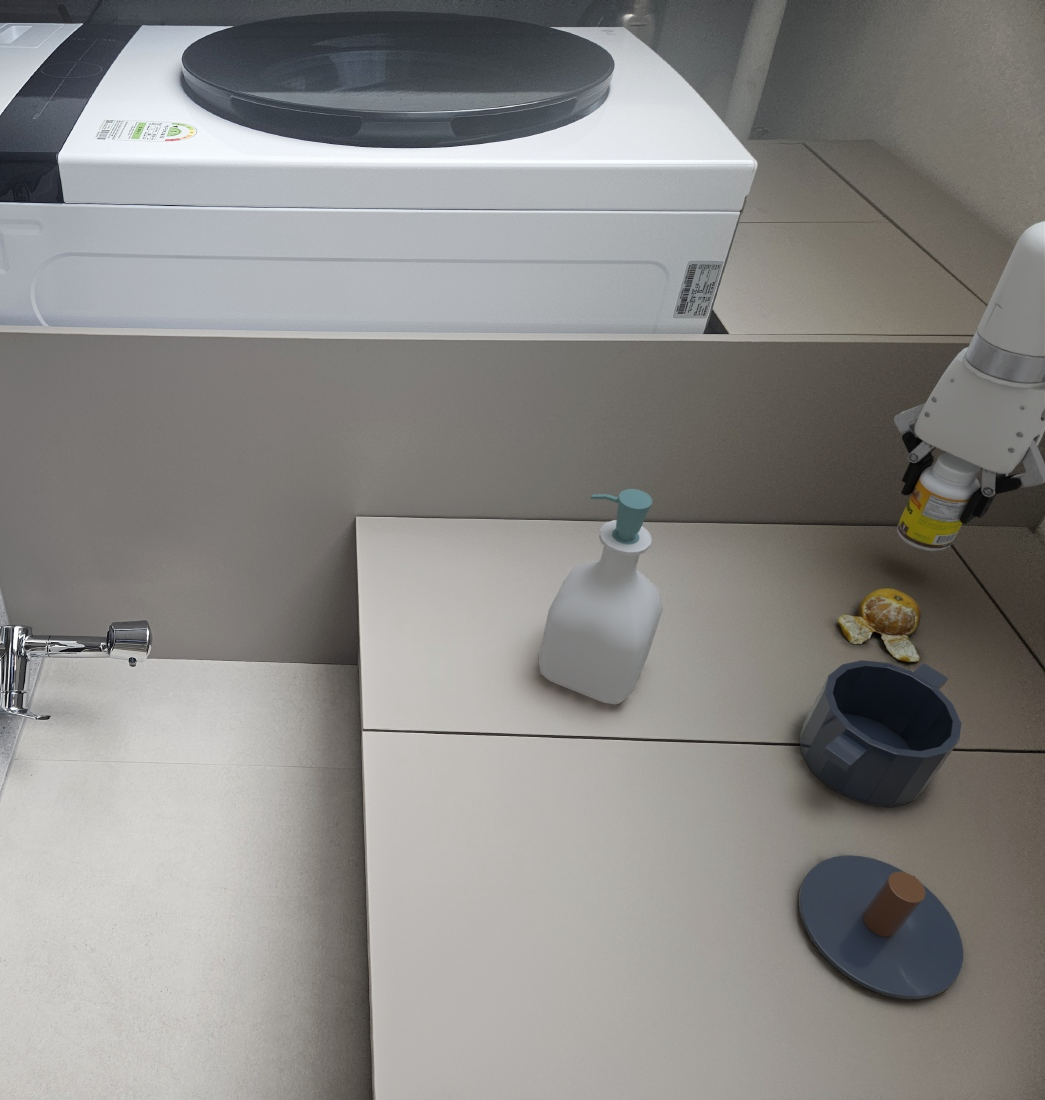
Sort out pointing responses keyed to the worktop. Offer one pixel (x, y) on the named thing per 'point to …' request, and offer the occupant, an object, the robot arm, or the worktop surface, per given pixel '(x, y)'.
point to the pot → (880, 731)
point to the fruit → (885, 622)
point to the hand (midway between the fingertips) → (939, 502)
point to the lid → (880, 927)
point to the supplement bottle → (938, 503)
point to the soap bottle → (605, 611)
